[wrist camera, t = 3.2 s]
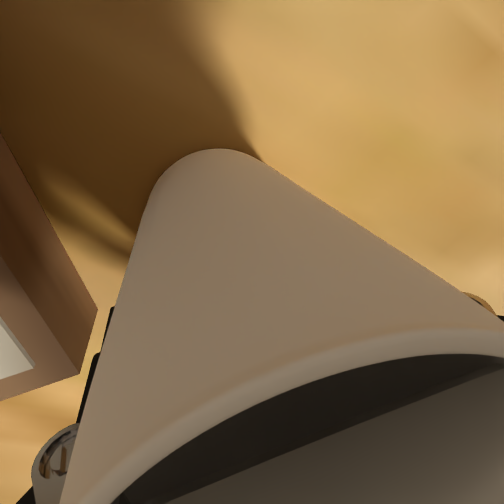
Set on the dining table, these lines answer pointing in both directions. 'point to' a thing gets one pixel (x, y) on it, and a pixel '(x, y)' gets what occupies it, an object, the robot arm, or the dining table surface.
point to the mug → (256, 331)
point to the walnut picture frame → (36, 292)
